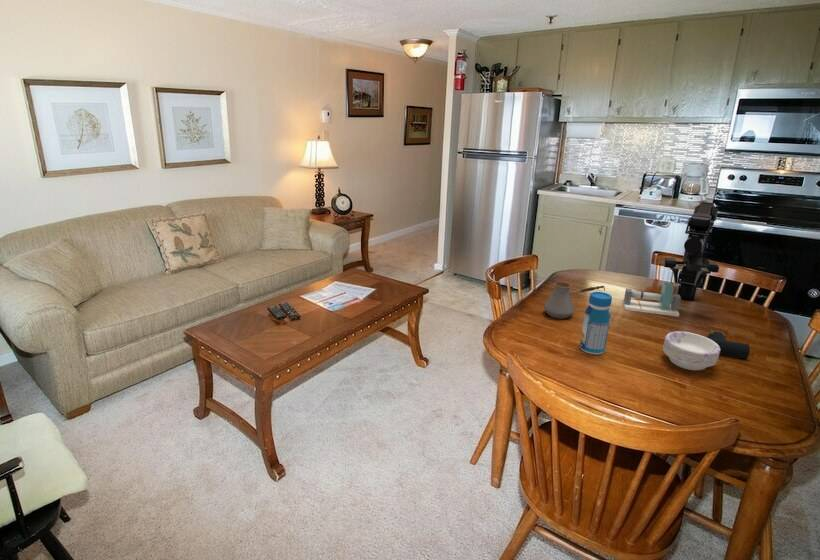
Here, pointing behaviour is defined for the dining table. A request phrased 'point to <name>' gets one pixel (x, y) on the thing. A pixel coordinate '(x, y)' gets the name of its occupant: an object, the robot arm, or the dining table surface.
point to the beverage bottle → (596, 323)
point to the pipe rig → (650, 303)
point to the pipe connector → (729, 345)
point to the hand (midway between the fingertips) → (685, 285)
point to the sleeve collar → (666, 294)
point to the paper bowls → (691, 350)
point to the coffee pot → (563, 300)
